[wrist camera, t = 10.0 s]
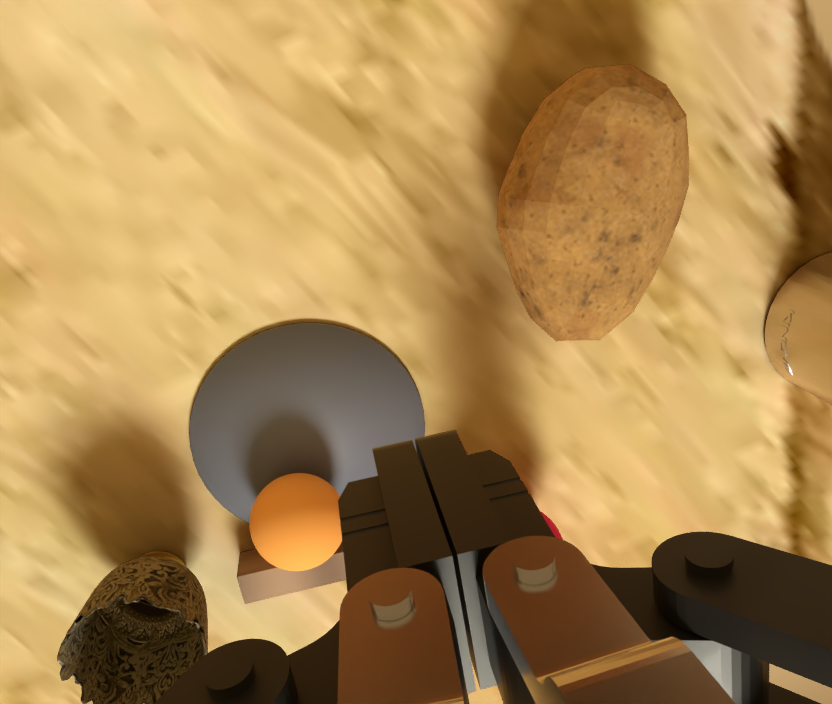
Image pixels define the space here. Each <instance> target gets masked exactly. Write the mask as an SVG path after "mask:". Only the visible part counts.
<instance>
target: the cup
mask: <svg viewBox="0 0 832 704" xmlns="http://www.w3.org/2000/svg"><path fill="white" fill-rule="evenodd" d="M207 653H208V619H207V605H206V599H205V595H204V592H203V589H202V586H201V584H200V583H199V581H198V579H197V578H196V576H195V575H194V574H193V573H192V572H191V571H190V570H189V569H188V568H186V566H185V564H184V563H183V561H182V560H181V559H180V558H179V557H177V556H176V555H174V554H172V553H169V552H164V551H154V552H150V553H147V554H145V555H143V556H141V557H139V558H138V559H134V560H131V561H128V562H126V563H124V564H122V565H120V566H119V567H117V568H115V569H114V570H113V571H111V572H110V573H109V574H108V575H107V576H106V577H105V578H104V579H103V580H102V581H101V582H100V583H99V585H98V586H97V587H96V588H95V590H94V591H93V593H92V594H91V596H90V597H89V599H88V600H87V602H86V603H85V605H84V606H83V608H82V610H81V611H80V613H79V614H78V616H77V618H76V619H75V621H74V623H73V624H72V626H71V627H70V629H69V630H68V632H67V635H66V637H65V639H64V640H63V642H62V644H61V646H60V649H59V652H58V656H57V661H58V662H59V663H60V665H61V666H62V668H61V671H60V677H61V680H62V681H65V680H67V679H69V678H70V677H71V676H72V674H73V676H74V678H75V683H77V684H80V686H82V690H81V691H82V696H81V702H82V703H83V704H87V703H88V702H90V701H91V700H92V701H93V704H143V703H145V704H154V703H155V702H156V701H157V700H158V699H159V698H160V697H161V696H162V695H163V694H164V693H165V692H166V691H167V690H168V689H169V688H170V687H171V686H172V685H173V684H174V683H175V682H176V681H177V680H178V679H179V678H180V677H181V676H182V675H183V674H184V673H185V672H186V671H187V670H188V669H189V668H190V667H191V666H192V665H193V664H194V663H195V662H197V661H198V660H199V659H200V658H202V657H203V656H204V655H206V654H207Z"/></svg>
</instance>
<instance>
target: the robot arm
mask: <svg viewBox="0 0 832 704" xmlns="http://www.w3.org/2000/svg"><path fill="white" fill-rule="evenodd" d="M765 344H766V350H767V353H768V356H769V359H770V362H771V363H772V365H773V366H774V368H775V369H776V371H777V372H778V373H779V374H781V375H782V376H783V377H784V378H785V379H786V380H788V381H790V382H792V383H793V384H795V385H797V386H799V387H800V388H802V389H804V390H806V391H808V392H809V393H811V394H813V395H815V396H816V397H818V398H820V399H822V400H824V401H825V402H827V403H828V404H830V405H832V252H831V253H827V254H824V255H822V256H820V257H817V258H815V259H813V260H811V261H810V262H808V263H807V264H805V265H804V266H802V267H800V268H799V269H798V270H797V271H796V272H795V273H794V274H793V275H792V276H791V277H790V278H789V279H788V280H787V281H786V282H785V284H784V285H783V286H782V288H781V289H780V290H779V292H778V293H777V295H776V297H775V299H774V301H773V303H772V305H771V307H770V310H769V313H768V317H767V320H766V327H765ZM415 445H416V449H415V447H414V444H413V441H412V440H408V441H403V442H399V443H395V444H390V445H386V446H381V447H377V448H372V450H373V455H374V460H375V465H376V470H377V474H378V476H374V477H370V478H365V479H361V480H356V481H352V482H348V484H347V485H346V487H345V489H344V491H343V493H342V494H341V496H340V498H339V500H338V506H339V515H340V525H341V534H342V544H343V553H344V562H345V572H346V581H347V590H348V592H347V594H346V595H345V597H344V599H343V601H342V603H341V607H340V620H339V621H338V622H337V623H336V624H335V626H334V627H333V628H332V629H331V630H330V631H328V632H327V633H326V634H325V635H324V636H322V637H321V638H319V639H318V640H316V641H315V642H313V643H311V644H309V645H308V646H306V647H304V648H302V649H300V650H298V651H296V652H294V653H292V654H290V655H288V656H287V655H286V653H285V652H284V650H283V649H282V648H281V647H280V646H278V645H277V644H275V643H273V642H270V641H267V640H262V639H245V640H239V641H234V642H231V643H228V644H225V645H223V646H221V647H218V648H216V649H214V650H213V651H211V652H209V653H207V654H206V655H204V656H203V657H202V658H200V659H199V660H198V661H197V662H195V663H194V664H193V665H192V666H191V667H190V668H189V669H188V670H187V671H186V672H185V673H184V674H183V675H182V676H181V677H180V678H179V679H178V680H177V681H176V682H175V683H174V684H173V685H172V686H171V687H170V688H169V689H168V690H167V691H166V692H165V693H164V694H163V695H162V696H161V697H160V698H159V699H158V700H157V701H156V702H155V703H154V704H469V699H468V694H467V693H470V692H474V691H476V687H475V681H474V676H473V670H472V664H473V667H474V670H475V673H476V676H477V680H478V683H479V686H480V689H485V688H489V687H492V686H496V685H497V686H498V688H499V691H500V694H501V697H502V700H503V704H820V703H818V702H816V701H813V700H811V699H808V698H806V697H804V696H801V695H799V694H796V693H794V692H792V691H789V690H787V689H784V688H782V687H779V686H777V685H775V684H772V683H770V682H769V663H770V664H773V665H775V666H778V667H780V668H783V669H785V670H788V671H790V672H793V673H795V674H798V675H800V676H803V677H805V678H808V679H811V680H813V681H815V682H818V683H821V684H823V685H826V686H828V687H831V688H832V565H828V564H825V563H821V562H818V561H815V560H811V559H808V558H804V557H801V556H797V555H794V554H791V553H787V552H784V551H780V550H777V549H774V548H770V547H767V546H763V545H760V544H757V543H753V542H750V541H746V540H743V539H740V538H736V537H733V536H729V535H725V534H721V533H714V532H691V533H685V534H680V535H677V536H674V537H672V538H669V539H667V540H666V541H664V542H663V543H661V544H660V545H659V546H658V547H657V548H656V550H655V551H654V553H653V556H652V567H651V568H610V567H602V566H597V565H593V564H590V563H589V561H588V560H587V559H586V557H585V556H584V555H583V554H582V552H581V551H580V550H579V549H578V548H576V547H575V546H574V545H572V544H570V543H568V542H566V541H564V540H561V539H558V538H556V537H555V536H554V534H553V532H552V531H551V529H550V527H549V526H548V524H547V522H546V521H545V519H544V517H543V516H542V514H541V512H540V511H539V509H538V507H537V506H536V504H535V502H534V501H533V499H532V497H531V496H530V494H528V491H527V489H526V487H525V486H524V484H523V482H522V481H520V477H519V476H518V474H517V472H516V471H515V469H514V467H513V466H512V464H511V462H510V461H509V460H507V459H505V458H503V457H502V456H500V455H498V454H496V453H494V452H493V451H491V450H488V451H484V452H479V453H475V454H471V455H467V453H466V451H465V449H464V447H463V445H462V443H461V441H460V439H459V437H458V435H457V433H456V431H455V430H452V431H448V432H443V433H439V434H434V435H430V436H425V437H421V438H416V439H415ZM470 657H471V659H470ZM471 661H472V664H471Z"/></svg>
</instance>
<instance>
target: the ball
mask: <svg viewBox="0 0 832 704" xmlns="http://www.w3.org/2000/svg"><path fill="white" fill-rule="evenodd" d="M339 498H340V495H339V494H338V492H337V491H336V490H335V489H334V487H333V486H332V485H330V484H329V483H328V482H327V481H325V480H324V479H322V478H320V477H318V476H315V475H312V474H307V473H292V474H287V475H284V476H281V477H279V478H277V479H275V480H273V481H272V482H271V483H269V484H268V485H267V486H266V487H265V488H264V489H263V490H262V491H261V492H260V493H259V495H258V496H257V498H256V500H255V502H254V504H253V507H252V509H251V514H250V521H249V527H250V534H251V538H252V541H253V543H254V545H255V547H256V549H257V551H258V552H259V554H260V555H261V556H262V557H263V558H264V559H265V560H266V561H268V562H269V563H270V564H272V565H274V566H275V567H278V568H280V569H283V570H288V571H304V570H309V569H312V568H315V567H317V566H319V565H321V564H323V563H324V562H325V561H327V560H328V559H329V558H330V557H331V556H332V555H333V554H334V553H335V552H336V550H337V549H338V547H339V546H340V544H341V542H342V534H341V525H340V515H339V506H338V500H339Z"/></svg>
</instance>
